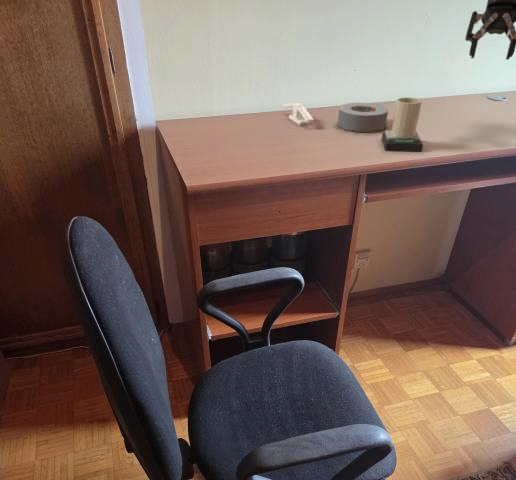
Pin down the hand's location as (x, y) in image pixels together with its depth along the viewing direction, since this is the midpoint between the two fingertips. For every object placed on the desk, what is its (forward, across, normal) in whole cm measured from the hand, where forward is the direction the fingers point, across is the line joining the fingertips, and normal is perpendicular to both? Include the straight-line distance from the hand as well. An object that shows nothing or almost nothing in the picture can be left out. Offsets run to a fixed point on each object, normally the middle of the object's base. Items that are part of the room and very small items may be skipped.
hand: (490, 57), depth 117 cm
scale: (+22, -18, +5) cm, 29 cm away
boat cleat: (+14, -53, +17) cm, 57 cm away
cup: (+20, -18, +3) cm, 27 cm away
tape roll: (+13, -33, +18) cm, 40 cm away
